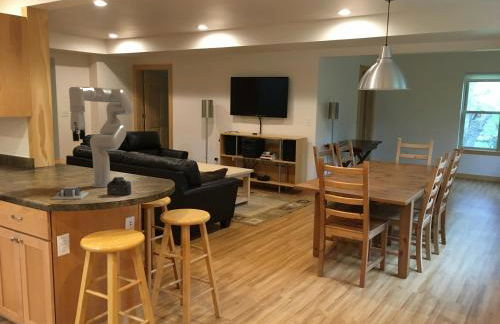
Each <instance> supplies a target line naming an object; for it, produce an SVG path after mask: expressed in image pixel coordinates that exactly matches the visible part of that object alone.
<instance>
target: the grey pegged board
mask: <svg viewBox="0 0 500 324" xmlns="http://www.w3.org/2000/svg"><path fill="white" fill-rule="evenodd" d="M72 195H73V196H64V192H63V190H61V196H60V191H59V192H56V195H54V196H53V197H52V200H81V199H83V198H86V197H87V196H89V191H87V192H86V191H85V190H82V191H80V193H79V195H78V196H75V190H72Z"/></svg>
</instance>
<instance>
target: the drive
mask: <svg viewBox="0 0 500 324" xmlns="http://www.w3.org/2000/svg"><path fill="white" fill-rule="evenodd" d="M61 190H63V192H64V196H73V195H72V190H75V196H78V195H79V193H80V192H81V186H62V187H61V188H60V189H59V192H60V196H61Z"/></svg>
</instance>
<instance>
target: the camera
mask: <svg viewBox="0 0 500 324" xmlns="http://www.w3.org/2000/svg"><path fill="white" fill-rule="evenodd" d="M106 193H107V194H108V195H115V196H116V195H117V196H130V195H131V194H132V183H131V181H129V180H126V179H125V178H124V177H122V176H114V177H113V178H112V179H111V180H110V182H109V184H107V187H106Z"/></svg>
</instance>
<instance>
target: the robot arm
mask: <svg viewBox="0 0 500 324" xmlns="http://www.w3.org/2000/svg"><path fill="white" fill-rule="evenodd" d="M68 96H69V97H68V98H69V109H70V131H71V134H72V141H73V142H80V140H84V141H85V140H86V139H87V138H86V137H87V136H86V120H85V112H86V108H85V107H86V106H85V102H94V103H96V102H97V103H108V104H107V105H106V106H105V107H106V108H105V109H106V116H107V120H105V122H104V124H103V125H102V126H101V128H100V130H99V134H94V135H92V136H91V137H90V140H89V145H90V148H91V153H92V155H91V156H92V165H93V166H92V167H93V168H92V169H93V183H91V187H92V188H98V189H99V188H107V184H109V182H110V181H111V169H110V165H111V163H110V155H109V154H108V151H110V152H112V151H117V150H119V148H120V147H121V145H122V143H123V142H124V140H125V138H126V136H127V128H126V126H125V125H123V124H122V123H121V121H120V119H119V117H118V116H129V115H131V114H132V113H133V110H134V108H133V104H132V102H131V100H130V98H129V97H128V95H127V93H126V92H125V90H123V89H121V88H105V87H92V86H70V87H69V88H68Z"/></svg>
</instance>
